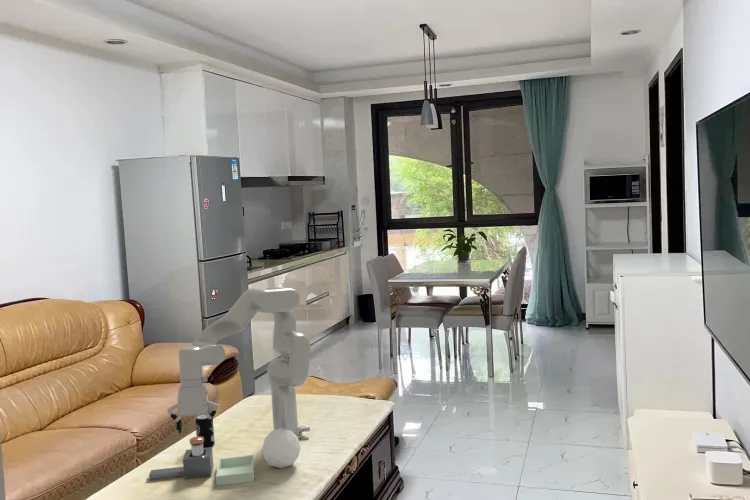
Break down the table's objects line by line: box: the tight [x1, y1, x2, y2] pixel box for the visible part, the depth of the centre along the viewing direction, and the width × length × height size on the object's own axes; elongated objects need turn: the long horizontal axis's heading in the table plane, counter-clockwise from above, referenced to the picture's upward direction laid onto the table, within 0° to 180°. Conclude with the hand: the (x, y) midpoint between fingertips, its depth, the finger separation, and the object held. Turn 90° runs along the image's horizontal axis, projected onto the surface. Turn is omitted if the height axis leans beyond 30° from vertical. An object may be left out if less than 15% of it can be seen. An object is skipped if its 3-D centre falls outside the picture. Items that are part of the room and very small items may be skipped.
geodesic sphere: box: [262, 426, 302, 469], centre depth 234 cm, size 14×14×14 cm
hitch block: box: [148, 446, 214, 481], centre depth 231 cm, size 21×9×7 cm, turn 99°
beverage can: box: [194, 414, 216, 448], centre depth 256 cm, size 7×7×12 cm
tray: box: [215, 454, 255, 487], centre depth 229 cm, size 15×12×3 cm
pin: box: [189, 436, 204, 457], centre depth 231 cm, size 5×5×12 cm
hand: (194, 430), depth 230 cm, fingers open, 9 cm apart
